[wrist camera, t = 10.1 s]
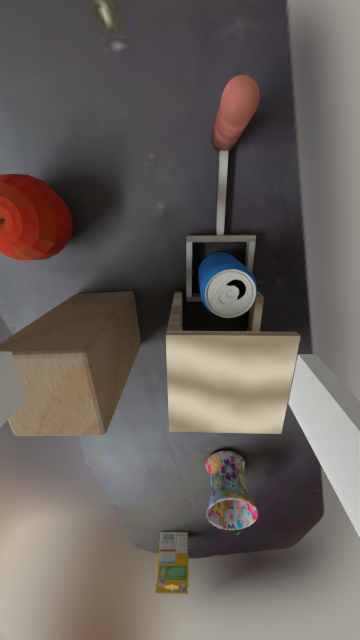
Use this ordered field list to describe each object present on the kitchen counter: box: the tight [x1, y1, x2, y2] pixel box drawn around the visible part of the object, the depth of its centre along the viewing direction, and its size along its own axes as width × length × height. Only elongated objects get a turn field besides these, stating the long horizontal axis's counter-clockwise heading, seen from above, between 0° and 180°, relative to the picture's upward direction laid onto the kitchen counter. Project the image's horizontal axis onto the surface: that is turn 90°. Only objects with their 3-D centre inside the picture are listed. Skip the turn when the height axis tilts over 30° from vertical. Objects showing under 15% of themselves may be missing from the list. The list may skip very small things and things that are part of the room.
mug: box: [206, 451, 258, 530], centre depth 50 cm, size 12×9×11 cm
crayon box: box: [156, 532, 188, 594], centre depth 60 cm, size 7×3×12 cm, turn 94°
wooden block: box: [0, 291, 141, 436], centre depth 33 cm, size 10×10×20 cm
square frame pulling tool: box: [186, 75, 260, 302], centre depth 30 cm, size 23×10×11 cm, turn 1°
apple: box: [0, 174, 73, 260], centre depth 31 cm, size 10×10×12 cm
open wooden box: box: [166, 292, 301, 434], centre depth 34 cm, size 13×13×16 cm
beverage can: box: [198, 252, 257, 318], centre depth 33 cm, size 6×6×12 cm
